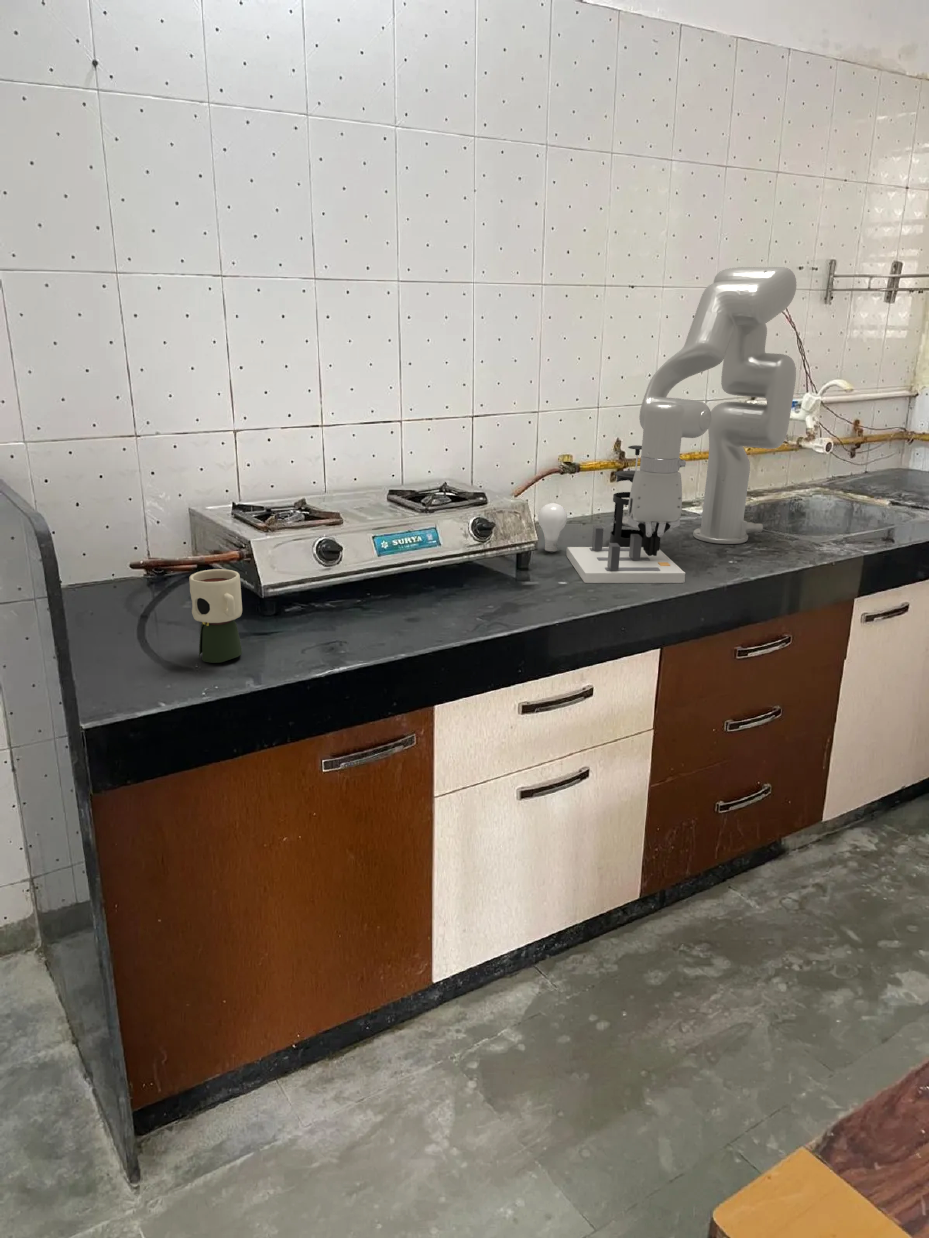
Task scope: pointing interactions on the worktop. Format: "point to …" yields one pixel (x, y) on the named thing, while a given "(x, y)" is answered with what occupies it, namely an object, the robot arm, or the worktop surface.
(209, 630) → the character mug
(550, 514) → the lightbulb
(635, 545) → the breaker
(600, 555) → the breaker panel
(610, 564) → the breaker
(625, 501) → the french press
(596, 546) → the breaker
